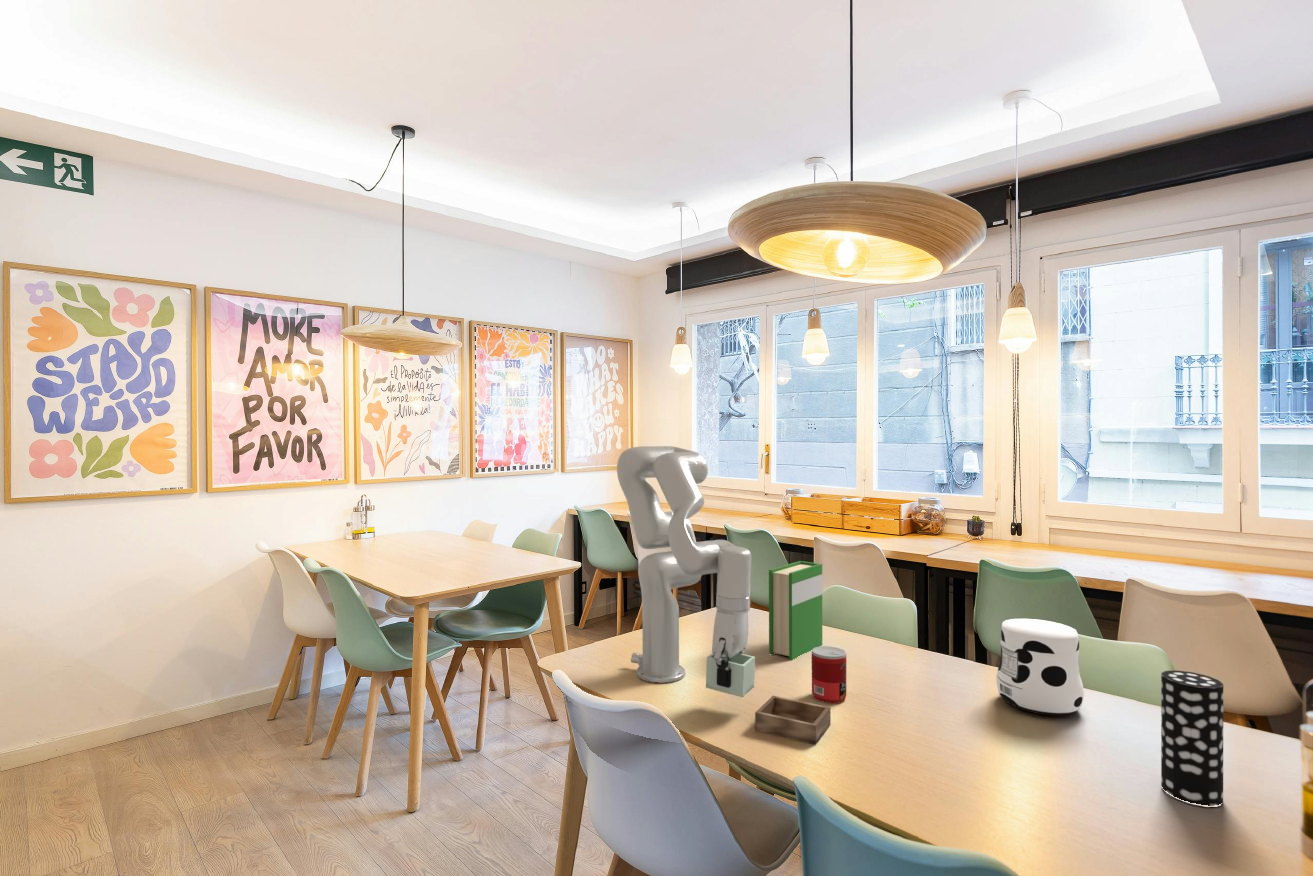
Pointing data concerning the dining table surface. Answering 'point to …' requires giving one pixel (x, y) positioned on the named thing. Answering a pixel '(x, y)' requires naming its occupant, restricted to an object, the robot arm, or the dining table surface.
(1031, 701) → the milk container
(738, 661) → the small crate
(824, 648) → the canned food
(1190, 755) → the spotted tube
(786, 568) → the hardback book
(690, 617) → the dining table surface
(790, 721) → the large crate
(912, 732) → the dining table surface
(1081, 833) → the dining table surface
